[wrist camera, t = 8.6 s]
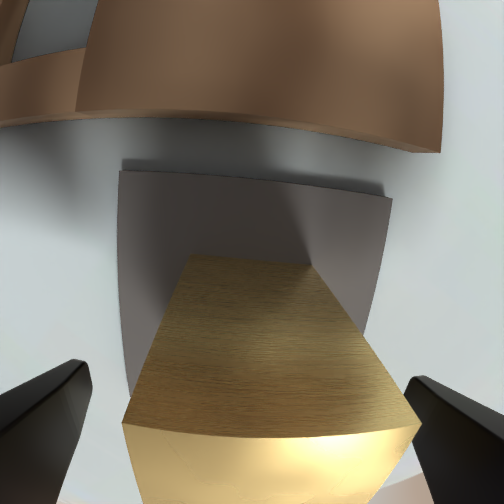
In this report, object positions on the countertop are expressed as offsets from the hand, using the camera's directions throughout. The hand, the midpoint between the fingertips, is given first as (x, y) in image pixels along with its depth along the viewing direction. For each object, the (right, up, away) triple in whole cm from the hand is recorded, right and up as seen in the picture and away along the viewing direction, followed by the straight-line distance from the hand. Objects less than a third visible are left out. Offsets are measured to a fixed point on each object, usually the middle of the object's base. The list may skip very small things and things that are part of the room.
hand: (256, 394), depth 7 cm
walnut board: (-3, +13, +1) cm, 14 cm away
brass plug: (0, +1, +4) cm, 5 cm away
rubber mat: (0, +1, +5) cm, 5 cm away
